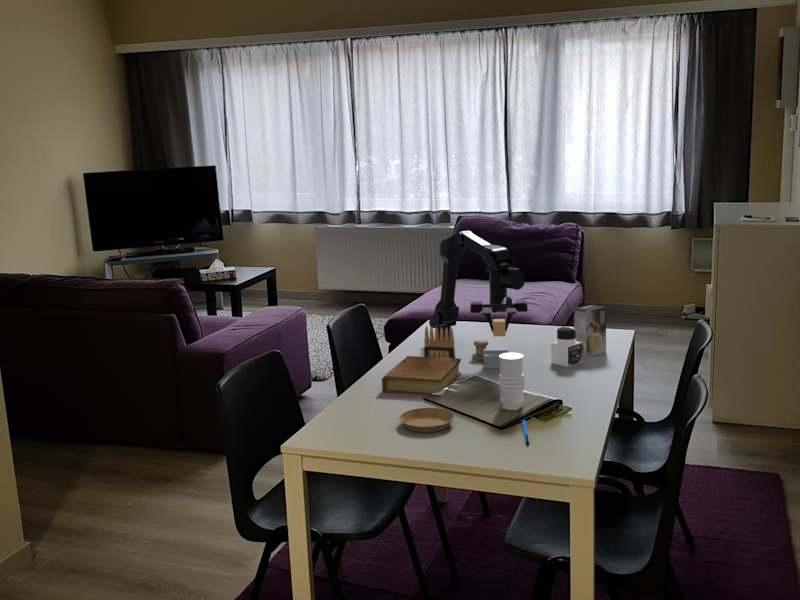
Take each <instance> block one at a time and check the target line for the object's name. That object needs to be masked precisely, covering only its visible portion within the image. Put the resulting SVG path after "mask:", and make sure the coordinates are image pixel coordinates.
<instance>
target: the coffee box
mask: <svg viewBox="0 0 800 600" xmlns="http://www.w3.org/2000/svg"><path fill="white" fill-rule="evenodd" d="M573 328H574V329H575V330H576V340H575V341H578V342H581V343H582V357H585V358H588V357H593V356H597V355H602V354H605V353H607V307H606V306H601V305H598V304H597V305H596V304H589V305H583V306H579V307H574V308H573Z"/></svg>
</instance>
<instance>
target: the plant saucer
mask: <svg viewBox="0 0 800 600" xmlns="http://www.w3.org/2000/svg"><path fill="white" fill-rule="evenodd" d="M454 419H455V415H454V413H453V412H451V411H450V410H447V409H445V408H440V407H419V408H415V409H414V408H413V409H410V410H407V411H405V412H402V413H401V414H400V415H399V421H400V422H401V423H402V425H404V427H406V428H407V429H409V430H410V431H413V432H418V433H435V432H438V431H442V430H444V429H446V428H447V427H449V425H450V424H452V423H453V421H454Z"/></svg>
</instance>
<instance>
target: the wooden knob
mask: <svg viewBox="0 0 800 600" xmlns="http://www.w3.org/2000/svg"><path fill="white" fill-rule="evenodd" d="M488 345H489V341H488V340H483V339H482V340H481V339H479V340H474V341H473V346H475V353H473V354H472V355H471V356H472V359H473V360H476V361H484V349H487V346H488Z"/></svg>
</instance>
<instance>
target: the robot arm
mask: <svg viewBox="0 0 800 600" xmlns="http://www.w3.org/2000/svg"><path fill="white" fill-rule="evenodd" d="M439 244H440V245H439V249H440V250H439V254H440V255H439V256H440V257H441V259H442V260H443V267H442V280H441V291H440V299H439V301H438V302H437V304H436V305H435V307H434V312H433V314H432V316H431V318H430V319H429V320H428V324H429V328H431V326H432V328H433V329H435V328H436V327H437V328H438V335H439V339H440V328H441V327H442V329H443V335H444V339H445V329H446V327H447V329H448V336H449V339H450V329H451V327H454V326H455V327H456V326H457V322H458V318H459V316H460V315H459V312H460V307H459V306H457V304H456V302H455V298H456V297H455V295H456V285H457V275H458V266H459V265H458V264H459V263H460V262H461V259H462V258H463V257H464V253H465V249H466V248H469V249H470V250H472V251H474V252H475V253H477V254H479V255H480V256H481V257H482V261H483V262H484V263H485V264H487V267H485V270H484V271H485V272H488V275H489V277H488V278H489V281H488V282H489V303H483V301H471V302H470V303H469V304H470V305H469V306H470V307H469V309H470V311H469V312H470V314H481V315H482V316H485V318H486V319H487V322H488V325H489V328H490V330H491V332H492V333H493V318H492V313H494V314H495V313H506V315H505V333H507V332H508V328H509V325H510V322H511V319H512V317H513V316H514V315H517V313H526V312H528V309H529V308H528V302H527V300H525V299H523V300H514V302H513V296H508V289H509V290H517V291H519V290H521V289H522V288H523V287H524V286H525V284H526V282H525V281H526V279H525V276H524V274H523V273H522V272H521V271H520V268H518V267H517V266H516V264H515V262H514V260H513V258H512V256H511V254H510V251H509V250H508V248H507V247H504V246H501V245H496V244H491V243H489V242H488V241H486V240H484V239H483V238H481V237H479V235H478V236H477V235H476V234H474V233H473V232H472V231H471V230H461V231H459V232H457V233H456V234H454V235H452V236H450V237H447V238H446V239H443V240H442V241H440V243H439ZM434 345H435V341H434Z"/></svg>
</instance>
